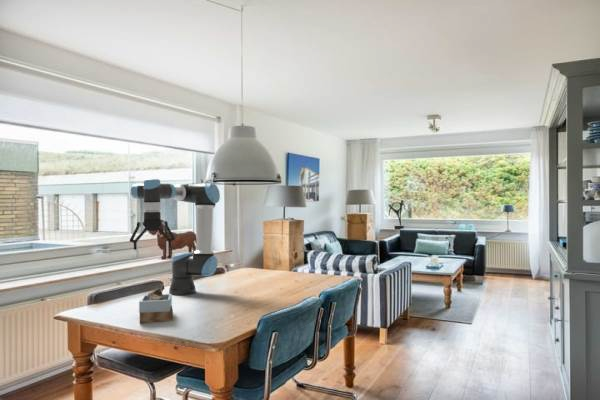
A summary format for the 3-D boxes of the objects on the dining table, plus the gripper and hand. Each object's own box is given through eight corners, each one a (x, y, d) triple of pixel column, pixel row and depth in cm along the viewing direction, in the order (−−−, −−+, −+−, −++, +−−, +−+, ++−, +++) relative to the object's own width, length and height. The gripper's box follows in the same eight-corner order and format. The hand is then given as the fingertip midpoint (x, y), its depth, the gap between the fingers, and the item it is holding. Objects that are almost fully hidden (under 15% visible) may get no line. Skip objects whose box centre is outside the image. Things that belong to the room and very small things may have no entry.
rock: (174, 299, 194) (165, 283, 199) (165, 295, 188) (156, 279, 193) (160, 312, 194) (151, 296, 199) (150, 309, 188) (141, 293, 193)
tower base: (171, 314, 202) (171, 303, 202) (172, 321, 189) (172, 310, 189) (140, 316, 197) (140, 306, 197) (139, 324, 184) (139, 313, 184)
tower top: (171, 304, 201) (171, 293, 201) (169, 311, 188) (169, 300, 188) (143, 305, 198) (143, 295, 198) (139, 313, 185) (139, 301, 185)
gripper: (178, 210, 208) (178, 253, 208) (124, 211, 198) (124, 256, 199) (180, 211, 201) (180, 255, 201) (123, 212, 191) (124, 258, 192)
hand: (152, 255), depth 200 cm, fingers open, 13 cm apart
